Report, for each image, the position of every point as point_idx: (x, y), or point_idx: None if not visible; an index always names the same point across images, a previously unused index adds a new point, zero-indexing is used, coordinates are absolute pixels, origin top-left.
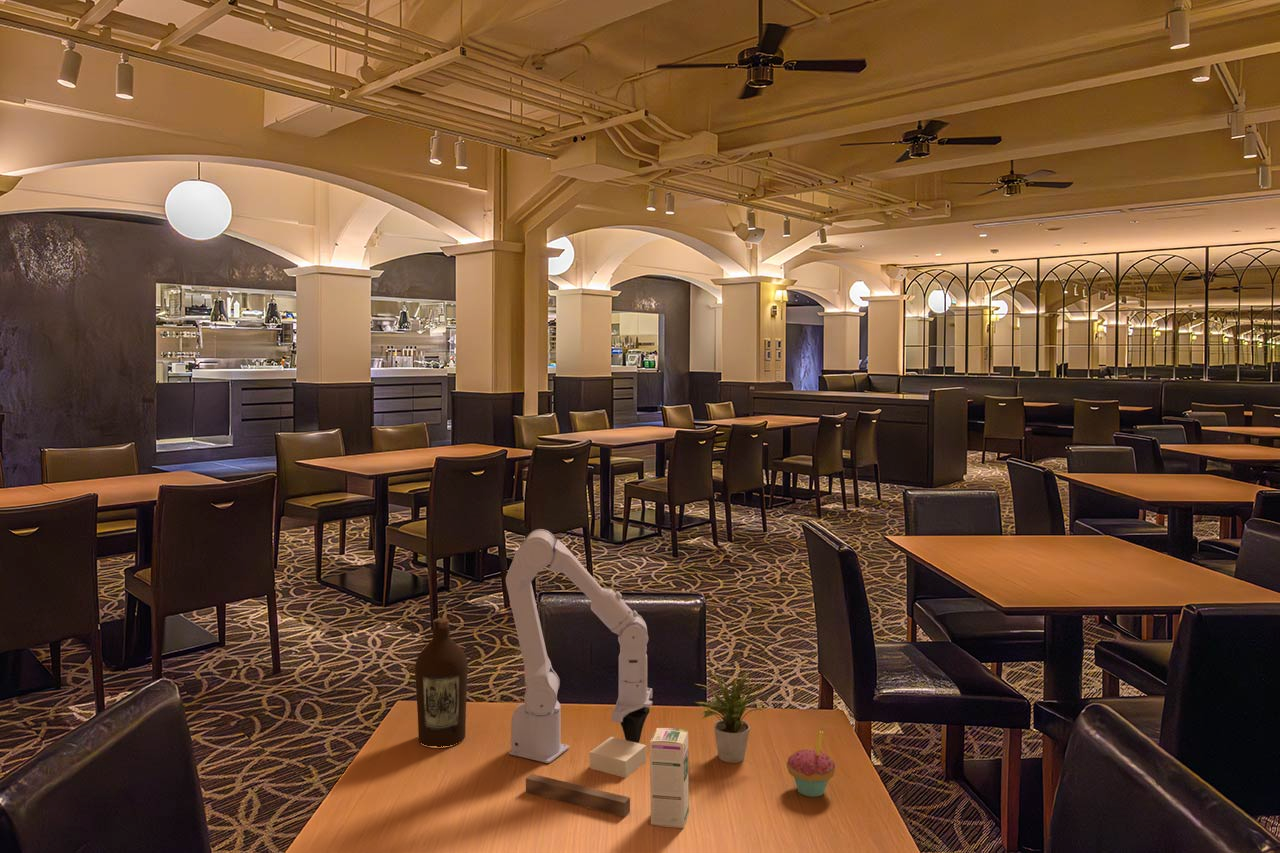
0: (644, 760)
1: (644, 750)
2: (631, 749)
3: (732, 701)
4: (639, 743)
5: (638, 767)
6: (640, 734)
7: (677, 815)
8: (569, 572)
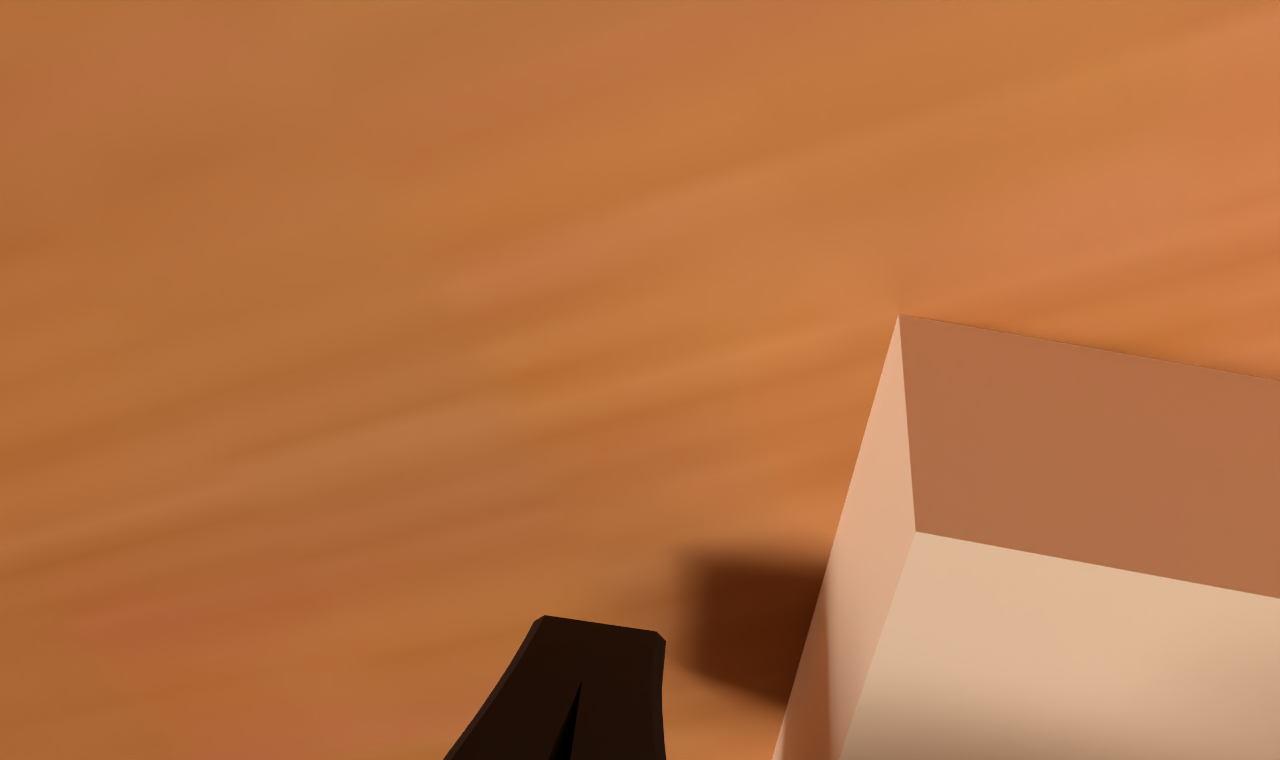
0: (987, 352)
1: (1013, 486)
2: (1259, 750)
3: None
4: (871, 673)
5: (1228, 373)
6: (493, 752)
7: None
8: None
